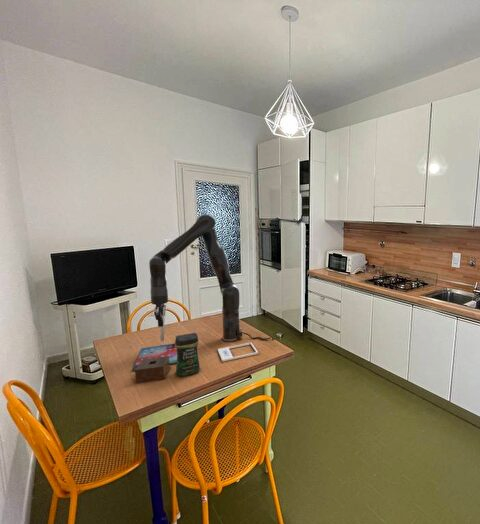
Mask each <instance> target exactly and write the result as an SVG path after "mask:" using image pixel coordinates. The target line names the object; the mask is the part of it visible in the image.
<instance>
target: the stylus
mask: <svg viewBox="0 0 480 524" xmlns="http://www.w3.org/2000/svg"><path fill="white" fill-rule="evenodd" d="M165 325H166V317H163V326H162V327H160V341H159V342H161V343H163V342H164V341H165Z"/></svg>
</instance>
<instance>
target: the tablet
mask: <svg viewBox="0 0 480 524" xmlns="http://www.w3.org/2000/svg"><path fill="white" fill-rule="evenodd" d="M164 356H169V366H170V365H175V364H177V348H176V347H175V342H174V343H168V344H160V345H155V346H154V345H153V346H148V347H141V349H140V351H139V354H138V356H137V359H136V361H135V363H134V366H133V369H132V370H133V371H134V372H135V369H136V368H137V366H138V365H139V364H140V362H141V361H142V359H147V358H156V357H164Z"/></svg>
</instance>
